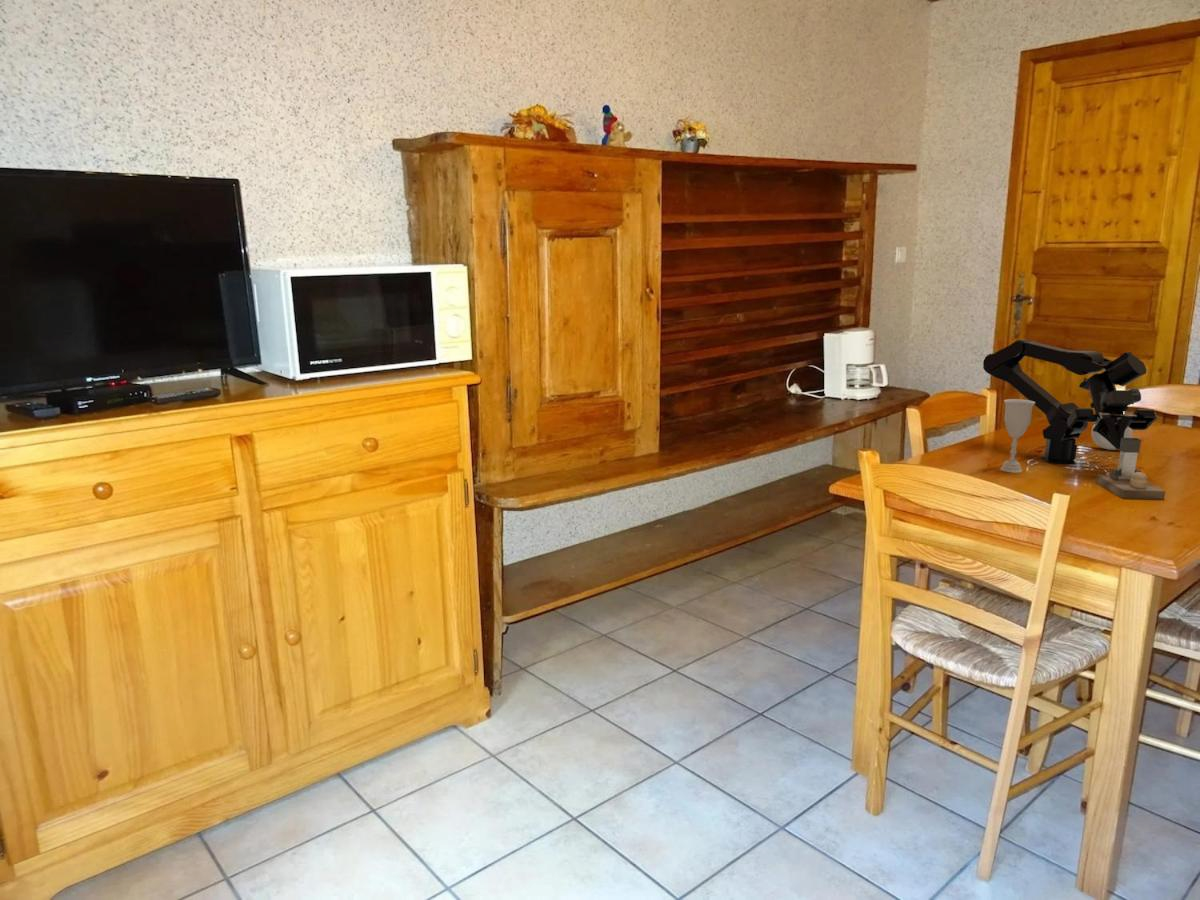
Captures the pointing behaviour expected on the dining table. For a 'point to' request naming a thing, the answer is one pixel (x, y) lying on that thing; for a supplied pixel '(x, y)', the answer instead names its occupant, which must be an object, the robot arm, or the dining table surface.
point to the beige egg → (1138, 480)
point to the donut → (1105, 443)
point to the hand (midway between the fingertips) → (1119, 448)
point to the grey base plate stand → (1128, 487)
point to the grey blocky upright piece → (1128, 456)
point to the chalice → (1016, 427)
